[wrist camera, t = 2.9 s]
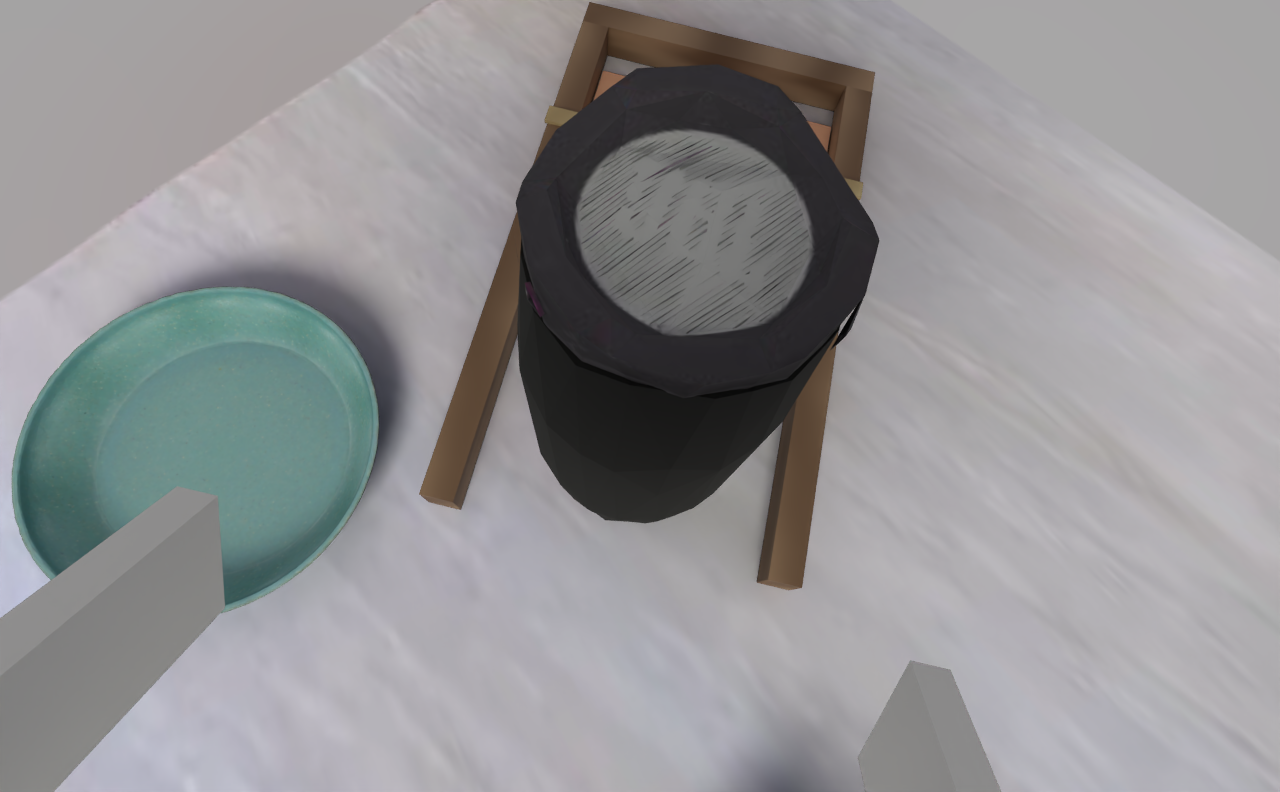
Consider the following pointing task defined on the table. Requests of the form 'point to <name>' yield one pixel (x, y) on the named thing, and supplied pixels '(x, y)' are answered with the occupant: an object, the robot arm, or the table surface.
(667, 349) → the portable speaker
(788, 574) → the rail track
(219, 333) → the saucer
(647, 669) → the table surface
